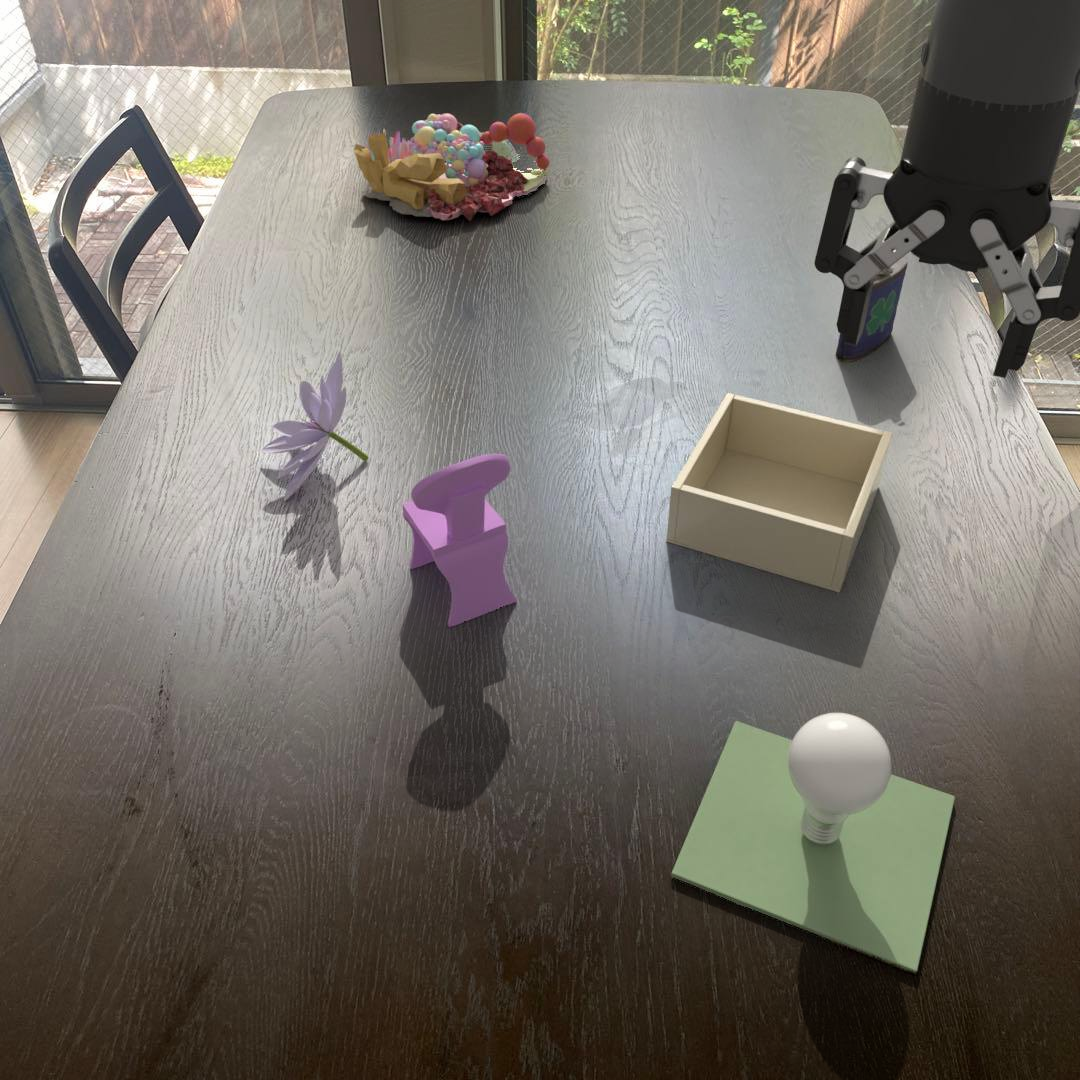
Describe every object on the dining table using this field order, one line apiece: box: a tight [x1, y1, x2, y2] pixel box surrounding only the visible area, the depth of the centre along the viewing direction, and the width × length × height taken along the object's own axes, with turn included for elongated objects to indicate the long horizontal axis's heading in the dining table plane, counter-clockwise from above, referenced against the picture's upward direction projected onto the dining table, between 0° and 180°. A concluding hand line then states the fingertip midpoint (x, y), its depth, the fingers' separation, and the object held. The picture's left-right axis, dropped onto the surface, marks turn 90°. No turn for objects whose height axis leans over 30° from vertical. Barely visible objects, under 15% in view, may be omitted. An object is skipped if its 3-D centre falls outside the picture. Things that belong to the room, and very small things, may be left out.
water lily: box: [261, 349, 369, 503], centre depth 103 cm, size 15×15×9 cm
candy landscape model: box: [352, 112, 550, 222], centre depth 149 cm, size 25×24×9 cm
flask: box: [835, 257, 908, 363], centre depth 117 cm, size 9×3×11 cm, turn 133°
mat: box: [670, 720, 956, 972], centre depth 74 cm, size 16×14×1 cm
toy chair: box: [401, 453, 518, 628], centre depth 88 cm, size 8×9×15 cm
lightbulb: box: [788, 712, 893, 844], centre depth 70 cm, size 6×6×11 cm
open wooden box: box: [665, 392, 894, 593], centre depth 97 cm, size 16×16×6 cm
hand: (925, 354), depth 64 cm, fingers open, 8 cm apart
